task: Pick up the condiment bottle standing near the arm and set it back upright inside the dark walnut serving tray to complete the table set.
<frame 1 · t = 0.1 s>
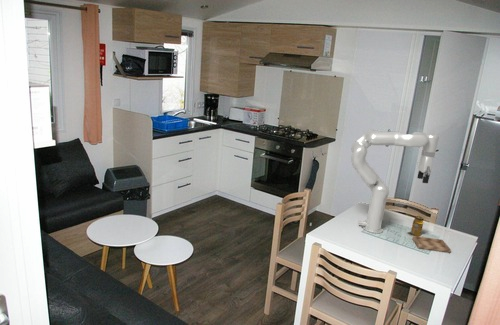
hand: (422, 180, 243), 37 cm above the table, tool pointing down, fingers open, 9 cm apart
condiment: (414, 234, 253), on the table
serving tray: (430, 245, 238), on the table
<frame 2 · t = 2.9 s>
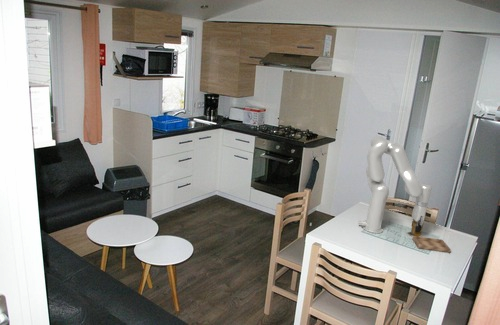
hand: (415, 229, 252), 4 cm above the table, tool pointing down, fingers open, 6 cm apart
condiment: (414, 235, 253), on the table, touching gripper
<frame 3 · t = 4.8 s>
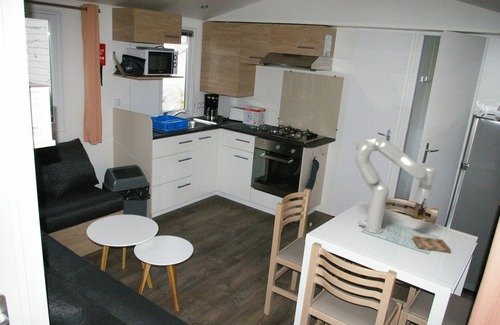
hand: (418, 212, 249), 15 cm above the table, tool pointing down, fingers closed on condiment, 6 cm apart
condiment: (416, 218, 250), point 11 cm above the table, touching gripper
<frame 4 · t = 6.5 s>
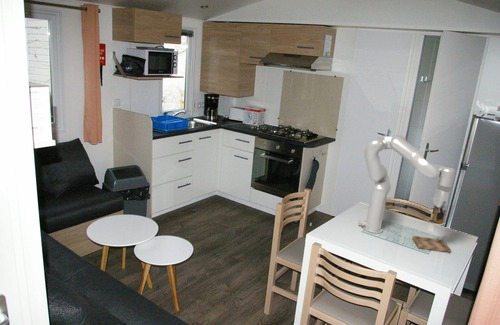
hand: (437, 216, 233), 19 cm above the table, tool pointing down, fingers closed on condiment, 6 cm apart
condiment: (435, 222, 234), point 15 cm above the table, touching gripper
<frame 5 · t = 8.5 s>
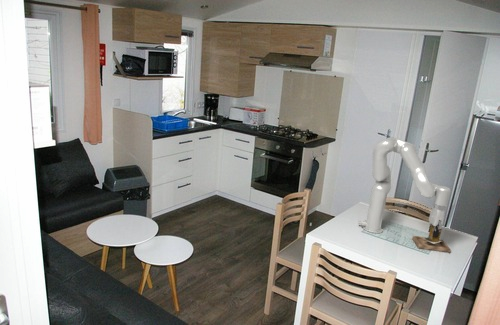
hand: (433, 234, 236), 8 cm above the table, tool pointing down, fingers closed on condiment, 6 cm apart
condiment: (432, 240, 237), point 4 cm above the table, touching gripper
when the fingers open (6 cm above the table, at t = 9.9 s): condiment stays where it is, resting on serving tray.
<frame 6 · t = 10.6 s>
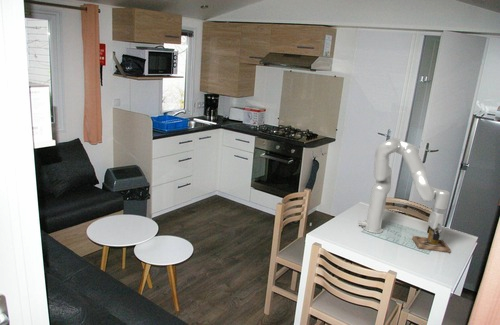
hand: (432, 236, 237), 6 cm above the table, tool pointing down, fingers open, 9 cm apart
condiment: (431, 244, 237), point 1 cm above the table, touching gripper, serving tray
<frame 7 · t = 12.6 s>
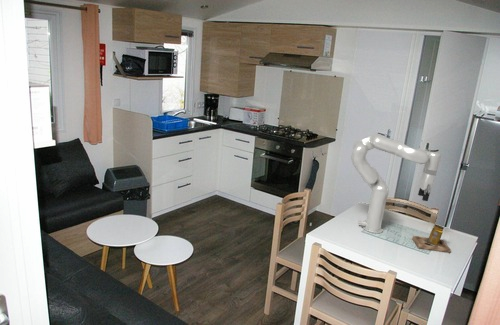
hand: (422, 198, 243), 26 cm above the table, tool pointing down, fingers open, 9 cm apart
condiment: (431, 244, 237), point 1 cm above the table, touching serving tray
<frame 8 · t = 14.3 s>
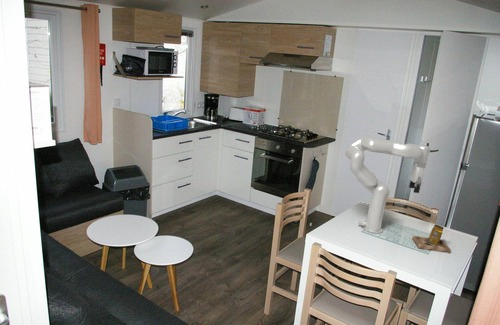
hand: (413, 190, 250), 28 cm above the table, tool pointing down, fingers open, 9 cm apart
nothing on the table moved.
at the end: condiment inside the target area on the serving tray (0.5 cm from its centre), point 1.5 cm above the serving tray's base; condiment tilted 15°; the gripper is holding nothing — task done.
